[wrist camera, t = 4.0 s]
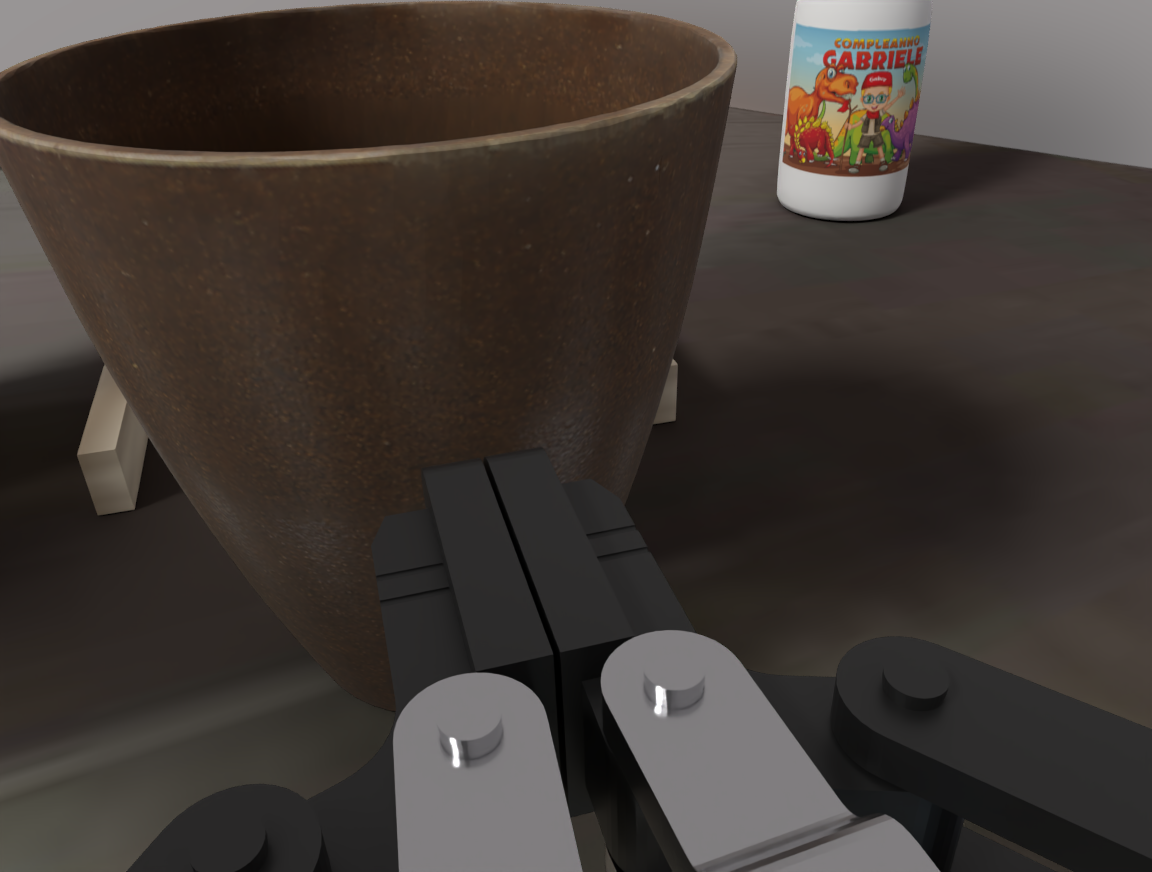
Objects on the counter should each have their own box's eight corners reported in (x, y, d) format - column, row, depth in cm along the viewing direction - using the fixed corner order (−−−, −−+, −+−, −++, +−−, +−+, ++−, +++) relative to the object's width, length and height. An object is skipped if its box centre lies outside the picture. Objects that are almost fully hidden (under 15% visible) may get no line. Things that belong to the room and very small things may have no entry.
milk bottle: (753, 194, 62) (782, -168, 52) (855, 180, 65) (902, -170, 54) (817, 231, 56) (865, -171, 46) (927, 215, 58) (997, -174, 48)
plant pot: (751, 826, 22) (836, 126, 14) (96, 875, 22) (-231, 165, 13) (658, 471, 35) (673, -7, 27) (245, 494, 34) (126, 9, 26)
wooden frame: (97, 515, 33) (44, 361, 30) (154, 281, 52) (125, 170, 48) (675, 420, 38) (681, 279, 35) (540, 236, 56) (536, 133, 53)
